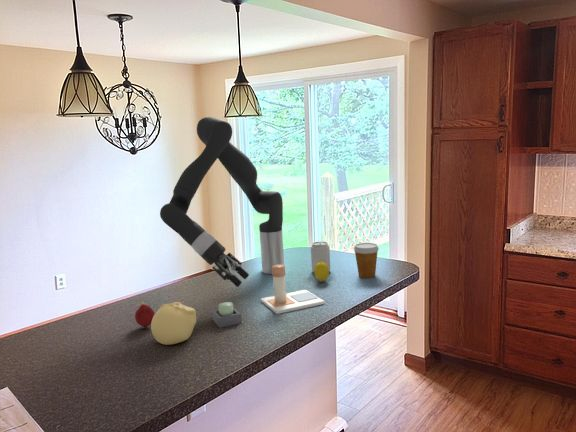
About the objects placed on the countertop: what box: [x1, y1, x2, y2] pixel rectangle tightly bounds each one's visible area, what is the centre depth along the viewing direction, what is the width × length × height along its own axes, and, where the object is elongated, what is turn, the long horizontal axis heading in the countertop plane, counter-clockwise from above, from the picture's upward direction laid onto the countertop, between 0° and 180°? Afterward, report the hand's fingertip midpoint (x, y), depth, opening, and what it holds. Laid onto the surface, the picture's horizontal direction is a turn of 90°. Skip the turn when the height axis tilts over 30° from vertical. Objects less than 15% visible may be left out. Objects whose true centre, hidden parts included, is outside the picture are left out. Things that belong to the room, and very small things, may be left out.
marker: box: [271, 264, 287, 303], centre depth 160 cm, size 4×4×12 cm
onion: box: [134, 302, 156, 328], centre depth 148 cm, size 6×6×8 cm
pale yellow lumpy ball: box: [150, 301, 197, 346], centre depth 138 cm, size 11×12×11 cm
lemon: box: [313, 261, 330, 283], centre depth 183 cm, size 6×6×8 cm
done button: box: [218, 301, 234, 317], centre depth 149 cm, size 4×4×4 cm
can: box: [310, 241, 331, 273], centre depth 196 cm, size 8×8×12 cm
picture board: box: [260, 289, 325, 315], centre depth 163 cm, size 14×17×1 cm
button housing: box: [211, 306, 242, 329], centre depth 150 cm, size 7×7×3 cm
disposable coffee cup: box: [353, 242, 380, 279], centre depth 187 cm, size 10×10×12 cm
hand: (243, 280), depth 163 cm, fingers open, 8 cm apart
